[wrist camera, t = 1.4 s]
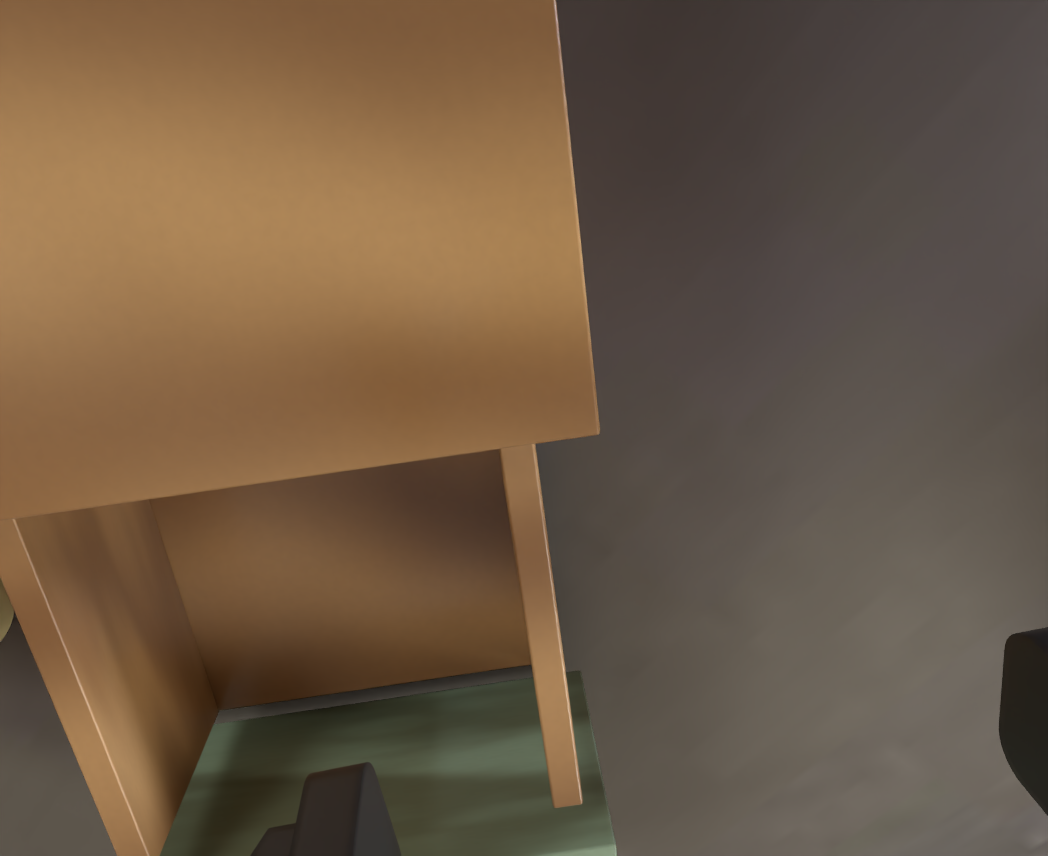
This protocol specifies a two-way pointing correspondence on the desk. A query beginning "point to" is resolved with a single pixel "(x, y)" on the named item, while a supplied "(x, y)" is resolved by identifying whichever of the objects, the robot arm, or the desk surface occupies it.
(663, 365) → the desk surface
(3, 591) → the tape roll
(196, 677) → the drawer
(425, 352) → the cabinet
